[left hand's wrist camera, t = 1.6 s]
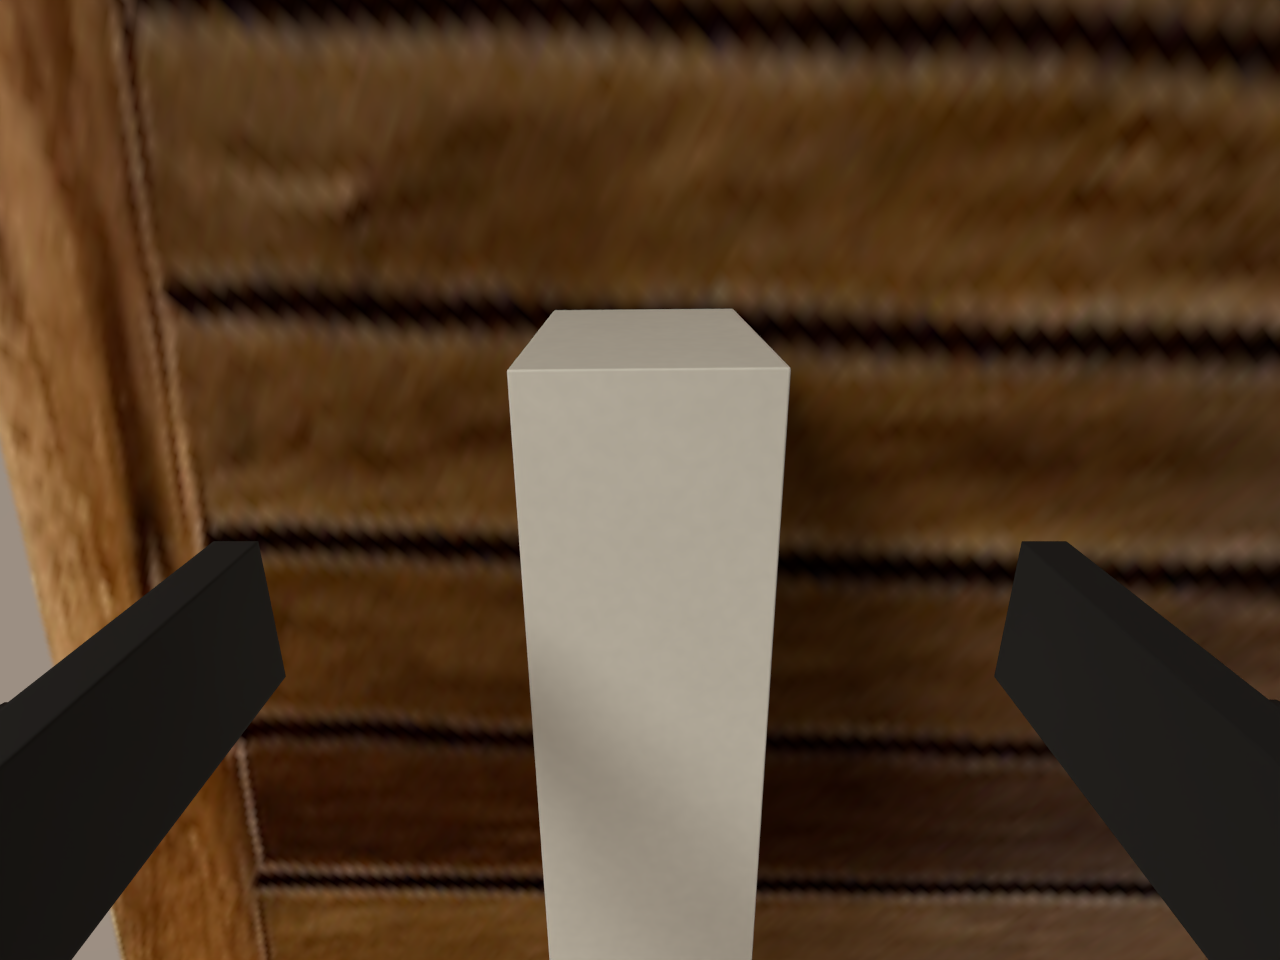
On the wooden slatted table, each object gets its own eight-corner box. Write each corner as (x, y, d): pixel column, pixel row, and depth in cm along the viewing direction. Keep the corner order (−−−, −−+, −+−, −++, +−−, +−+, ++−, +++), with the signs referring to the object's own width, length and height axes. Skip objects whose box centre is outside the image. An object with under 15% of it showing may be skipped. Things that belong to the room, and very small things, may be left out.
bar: (553, 309, 24) (506, 369, 15) (733, 308, 24) (791, 367, 15) (580, 872, 33) (560, 1119, 24) (712, 870, 33) (741, 1117, 24)
